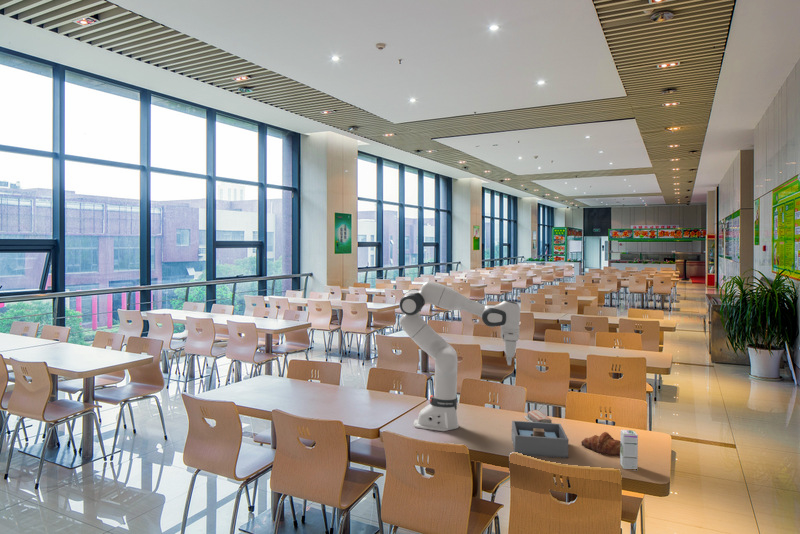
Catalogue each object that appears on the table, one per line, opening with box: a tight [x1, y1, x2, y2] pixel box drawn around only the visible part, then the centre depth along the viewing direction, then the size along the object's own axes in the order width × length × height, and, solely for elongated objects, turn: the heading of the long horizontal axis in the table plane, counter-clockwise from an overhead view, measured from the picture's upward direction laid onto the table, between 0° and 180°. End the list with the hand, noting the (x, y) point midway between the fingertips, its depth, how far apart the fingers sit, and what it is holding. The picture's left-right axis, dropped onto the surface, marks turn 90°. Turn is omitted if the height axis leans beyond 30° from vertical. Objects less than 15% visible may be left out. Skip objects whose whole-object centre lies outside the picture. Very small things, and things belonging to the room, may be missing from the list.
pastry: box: [580, 431, 620, 457], centre depth 238 cm, size 17×15×8 cm
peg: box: [533, 428, 545, 437], centre depth 240 cm, size 4×4×7 cm
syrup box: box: [619, 429, 639, 470], centre depth 219 cm, size 6×6×14 cm
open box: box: [511, 420, 569, 459], centre depth 240 cm, size 22×22×8 cm
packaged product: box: [523, 409, 552, 423], centre depth 277 cm, size 18×5×10 cm
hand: (508, 363), depth 258 cm, fingers open, 8 cm apart
